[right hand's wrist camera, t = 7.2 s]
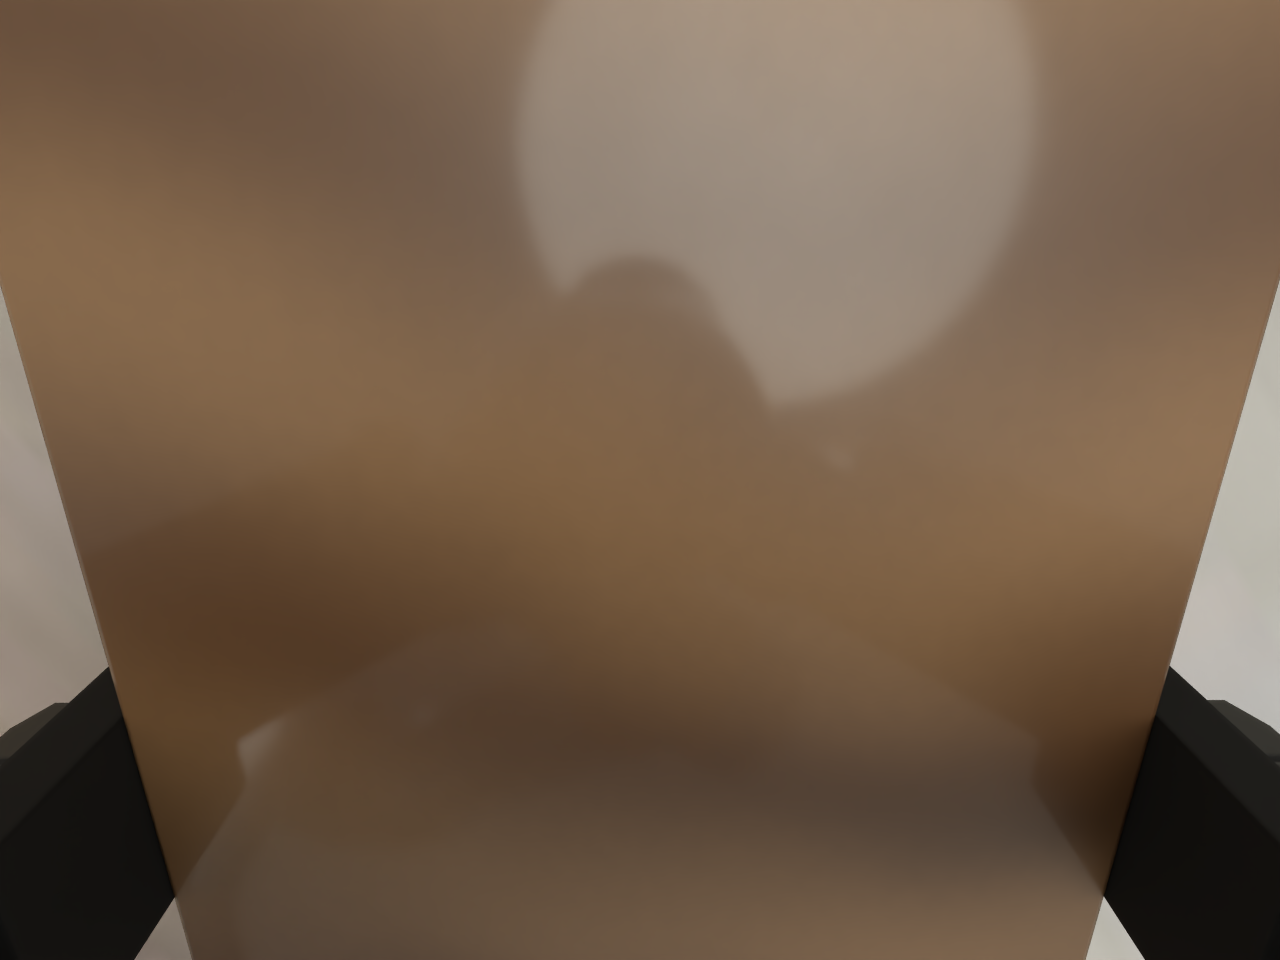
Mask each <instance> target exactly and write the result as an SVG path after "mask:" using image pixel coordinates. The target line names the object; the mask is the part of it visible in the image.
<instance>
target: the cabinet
mask: <svg viewBox="0 0 1280 960" xmlns="http://www.w3.org/2000/svg"><path fill="white" fill-rule="evenodd" d="M1279 280H1280V0H0V285H1V289H2V293H3V296H4V300H5V303H6V307H7V310H8V314H9V317H10V321H11V324H12V328H13V331H14V335H15V338H16V342H17V345H18V349H19V352H20V356H21V359H22V363H23V366H24V370H25V373H26V377H27V380H28V384H29V387H30V391H31V394H32V398H33V401H34V405H35V408H36V412H37V415H38V419H39V423H40V426H41V430H42V433H43V437H44V440H45V444H46V447H47V451H48V454H49V458H50V461H51V465H52V468H53V472H54V475H55V479H56V482H57V486H58V489H59V493H60V496H61V500H62V503H63V507H64V510H65V514H66V517H67V521H68V524H69V528H70V531H71V535H72V538H73V542H74V545H75V549H76V553H77V556H78V560H79V563H80V567H81V570H82V574H83V577H84V581H85V584H86V588H87V591H88V595H89V598H90V602H91V605H92V609H93V612H94V616H95V619H96V623H97V626H98V630H99V633H100V637H101V640H102V644H103V647H104V651H105V654H106V658H107V661H108V665H109V668H110V672H111V675H112V679H113V683H114V686H115V690H116V693H117V697H118V700H119V704H120V707H121V711H122V714H123V718H124V721H125V725H126V728H127V732H128V735H129V739H130V742H131V746H132V749H133V753H134V756H135V760H136V763H137V767H138V770H139V774H140V777H141V781H142V784H143V788H144V791H145V795H146V798H147V802H148V805H149V809H150V813H151V816H152V820H153V823H154V827H155V830H156V834H157V837H158V841H159V844H160V848H161V851H162V855H163V858H164V862H165V865H166V869H167V872H168V876H169V879H170V883H171V886H172V890H173V893H174V897H175V900H176V904H177V907H178V911H179V914H180V918H181V921H182V925H183V928H184V932H185V935H186V939H187V943H188V946H189V950H190V953H191V957H192V960H1086V956H1087V953H1088V949H1089V946H1090V942H1091V939H1092V935H1093V932H1094V928H1095V925H1096V921H1097V918H1098V914H1099V911H1100V907H1101V904H1102V900H1103V897H1104V893H1105V890H1106V886H1107V883H1108V879H1109V876H1110V872H1111V869H1112V865H1113V862H1114V858H1115V855H1116V851H1117V847H1118V844H1119V840H1120V837H1121V833H1122V830H1123V826H1124V823H1125V819H1126V816H1127V812H1128V809H1129V805H1130V802H1131V798H1132V795H1133V791H1134V788H1135V784H1136V781H1137V777H1138V774H1139V770H1140V767H1141V763H1142V760H1143V756H1144V753H1145V749H1146V746H1147V742H1148V739H1149V735H1150V732H1151V728H1152V725H1153V721H1154V718H1155V714H1156V711H1157V707H1158V704H1159V700H1160V697H1161V693H1162V690H1163V686H1164V683H1165V679H1166V676H1167V672H1168V669H1169V665H1170V662H1171V658H1172V655H1173V651H1174V648H1175V644H1176V641H1177V637H1178V634H1179V630H1180V627H1181V623H1182V620H1183V616H1184V613H1185V609H1186V606H1187V602H1188V599H1189V595H1190V592H1191V588H1192V585H1193V581H1194V578H1195V574H1196V571H1197V567H1198V564H1199V560H1200V557H1201V553H1202V550H1203V546H1204V543H1205V539H1206V536H1207V532H1208V529H1209V525H1210V522H1211V518H1212V515H1213V511H1214V508H1215V504H1216V501H1217V497H1218V494H1219V490H1220V487H1221V483H1222V480H1223V476H1224V473H1225V469H1226V466H1227V462H1228V459H1229V455H1230V452H1231V448H1232V445H1233V441H1234V438H1235V434H1236V431H1237V427H1238V424H1239V420H1240V417H1241V413H1242V410H1243V406H1244V403H1245V399H1246V396H1247V392H1248V389H1249V385H1250V382H1251V378H1252V375H1253V371H1254V368H1255V364H1256V361H1257V357H1258V354H1259V350H1260V347H1261V343H1262V340H1263V336H1264V333H1265V329H1266V326H1267V322H1268V319H1269V315H1270V312H1271V308H1272V305H1273V301H1274V298H1275V294H1276V291H1277V287H1278V284H1279Z"/></svg>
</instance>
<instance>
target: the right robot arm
mask: <svg viewBox="0 0 1280 960" xmlns="http://www.w3.org/2000/svg"><path fill="white" fill-rule="evenodd" d="M1104 897H1105V899H1106V900H1107V902H1108V903H1109V905H1110V906H1111V908H1112V910H1113V911H1114V913H1115V914H1116V916H1117V917H1118V919H1119V920H1120V922H1121V923H1122V925H1123V927H1124V928H1125V930H1126V931H1127V933H1128V934H1129V936H1130V937H1131V939H1132V940H1133V942H1134V944H1135V945H1136V947H1137V948H1138V950H1139V951H1140V953H1141V954H1142V956H1143V957H1144V959H1145V960H1280V734H1279V733H1278V732H1276V731H1275V730H1274V729H1273V728H1272V727H1271V726H1269V725H1267V724H1266V723H1264V722H1262V721H1260V720H1259V719H1257V718H1255V717H1253V716H1252V715H1250V714H1248V713H1246V712H1244V711H1243V710H1241V709H1239V708H1237V707H1236V706H1234V705H1232V704H1230V703H1229V702H1227V701H1225V700H1206V699H1205V698H1204V697H1203V696H1202V695H1201V694H1200V693H1199V692H1198V691H1196V690H1195V689H1194V688H1193V687H1192V686H1191V685H1190V684H1189V683H1188V682H1187V681H1186V680H1184V679H1183V678H1182V677H1181V676H1180V675H1179V674H1178V673H1177V672H1176V671H1175V670H1174V669H1172V668H1171V667H1170V666H1169V669H1168V672H1167V676H1166V679H1165V683H1164V686H1163V690H1162V693H1161V697H1160V700H1159V704H1158V707H1157V711H1156V714H1155V718H1154V721H1153V725H1152V728H1151V732H1150V735H1149V739H1148V742H1147V746H1146V749H1145V753H1144V756H1143V760H1142V763H1141V767H1140V770H1139V774H1138V777H1137V781H1136V784H1135V788H1134V791H1133V795H1132V798H1131V802H1130V805H1129V809H1128V812H1127V816H1126V819H1125V823H1124V826H1123V830H1122V833H1121V837H1120V840H1119V844H1118V847H1117V851H1116V855H1115V858H1114V862H1113V865H1112V869H1111V872H1110V876H1109V879H1108V883H1107V886H1106V890H1105V893H1104ZM173 899H174V893H173V890H172V886H171V883H170V879H169V876H168V872H167V869H166V865H165V862H164V858H163V855H162V851H161V848H160V844H159V841H158V837H157V834H156V830H155V827H154V823H153V820H152V816H151V813H150V809H149V805H148V802H147V798H146V795H145V791H144V788H143V784H142V781H141V777H140V774H139V770H138V767H137V763H136V760H135V756H134V753H133V749H132V746H131V742H130V739H129V735H128V732H127V728H126V725H125V721H124V718H123V714H122V711H121V707H120V704H119V700H118V697H117V693H116V690H115V686H114V683H113V679H112V675H111V672H110V668H109V667H108V668H107V669H105V670H104V671H103V672H102V673H101V674H100V675H99V676H98V677H97V678H96V679H95V680H93V681H92V682H91V683H90V684H89V685H88V686H87V687H86V688H85V689H84V690H83V691H81V692H80V693H79V694H78V695H77V696H76V697H75V698H74V699H73V700H72V701H71V702H69V703H54V704H53V705H51V706H49V707H47V708H46V709H44V710H42V711H40V712H39V713H37V714H35V715H33V716H32V717H30V718H28V719H26V720H24V721H23V722H21V723H19V724H17V725H16V726H14V727H12V728H10V729H9V730H8V731H7V732H6V733H5V734H3V735H2V736H1V737H0V960H134V959H135V958H136V956H137V955H138V953H139V951H140V950H141V948H142V947H143V945H144V944H145V942H146V941H147V939H148V938H149V936H150V934H151V933H152V931H153V930H154V928H155V927H156V925H157V924H158V922H159V921H160V919H161V917H162V916H163V914H164V913H165V911H166V910H167V908H168V907H169V905H170V904H171V902H172V900H173Z"/></svg>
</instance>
